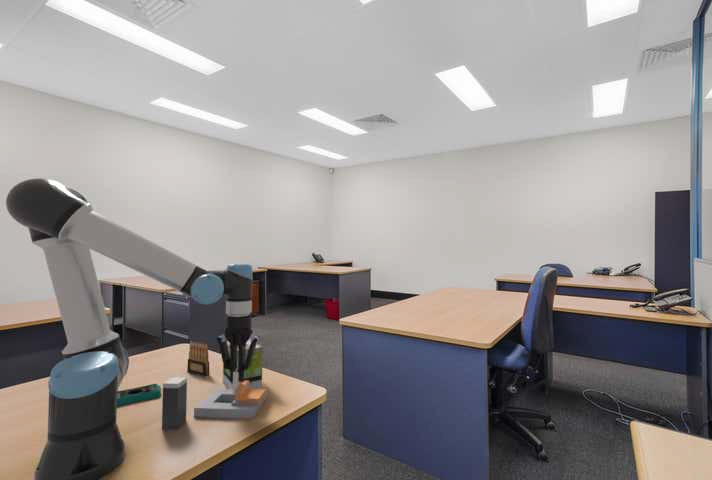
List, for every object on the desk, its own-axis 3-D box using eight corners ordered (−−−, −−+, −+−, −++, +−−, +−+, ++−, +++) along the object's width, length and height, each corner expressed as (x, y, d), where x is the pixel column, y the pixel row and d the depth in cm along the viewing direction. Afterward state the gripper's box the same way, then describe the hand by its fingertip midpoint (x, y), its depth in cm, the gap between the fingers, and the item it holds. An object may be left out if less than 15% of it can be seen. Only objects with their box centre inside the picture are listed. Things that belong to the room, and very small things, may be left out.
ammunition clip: (187, 371, 128) (187, 341, 129) (191, 370, 130) (191, 339, 130) (205, 376, 123) (206, 344, 124) (209, 375, 125) (210, 343, 125)
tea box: (263, 389, 112) (263, 346, 112) (232, 397, 106) (233, 351, 107) (249, 376, 124) (250, 336, 125) (222, 381, 118) (222, 340, 119)
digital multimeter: (161, 398, 106) (162, 388, 106) (104, 411, 97) (104, 400, 98) (159, 390, 112) (159, 381, 112) (105, 401, 103) (105, 392, 103)
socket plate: (252, 418, 92) (252, 406, 93) (193, 416, 93) (194, 405, 93) (266, 398, 105) (267, 387, 106) (215, 396, 106) (215, 386, 106)
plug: (177, 429, 87) (178, 383, 87) (161, 428, 87) (162, 383, 87) (186, 421, 91) (187, 377, 91) (171, 420, 91) (172, 377, 92)
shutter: (258, 404, 96) (258, 390, 96) (235, 403, 96) (235, 389, 96) (266, 393, 102) (266, 380, 103) (244, 393, 103) (244, 380, 103)
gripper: (263, 312, 104) (262, 387, 103) (223, 311, 104) (221, 386, 103) (255, 317, 96) (253, 398, 95) (212, 316, 97) (209, 396, 96)
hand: (236, 392), depth 99 cm, fingers closed
